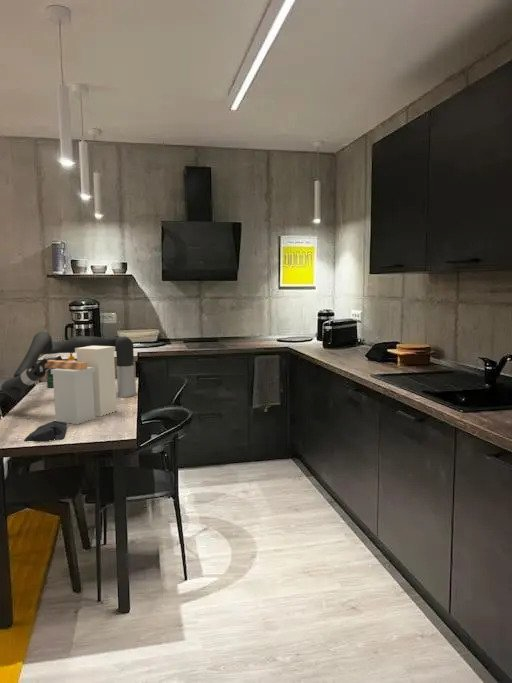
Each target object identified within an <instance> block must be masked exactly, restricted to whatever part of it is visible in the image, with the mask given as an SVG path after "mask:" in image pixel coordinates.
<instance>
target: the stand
mask: <svg viewBox="0 0 512 683" xmlns="http://www.w3.org/2000/svg"><path fill="white" fill-rule="evenodd" d="M75 352H76V353H75V354H76V361H77V362H87V367H94V372H93V391H94V411H95V415H96V416H95V417H99V416H101V417H104V416H107V415H110V414H113V413H116V412H117V411H118V410H117V409H118V408H117V392H116V391H117V388H116V387H117V386H116V369H115V368H116V365H115V352H116V351H115V346H87V347H80V348H75ZM115 411H116V412H115ZM112 412H113V413H112ZM109 413H110V414H109ZM106 414H107V415H106ZM103 415H104V416H103Z"/></svg>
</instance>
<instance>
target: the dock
mask: <svg viewBox="0 0 512 683" xmlns="http://www.w3.org/2000/svg"><path fill="white" fill-rule="evenodd" d="M93 372H94V367H87V369H83V370H74V369H59V368H57V369H52V370H51V374H53V385H54V388H53V397H54V398H53V399H54V413H55V414H54V417H55V418H54V419H55V421H58V422H66V423H67V424H69V423H72V424H71V425H77V424H78V425H80V424H79V423H81V424H83V423H86V422H89V421H92V420H95V419H96V416H95V411H94V391H93ZM94 418H95V419H94ZM91 419H92V420H91ZM88 420H89V421H88ZM85 421H86V422H85ZM82 422H83V423H82Z"/></svg>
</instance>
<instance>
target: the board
mask: <svg viewBox="0 0 512 683" xmlns="http://www.w3.org/2000/svg"><path fill="white" fill-rule="evenodd" d="M45 368H59V369H74V370H83V369H87V362H77V360H75V361H68V360H62V361H61V360H48V362H47V363H46V364H45Z"/></svg>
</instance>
